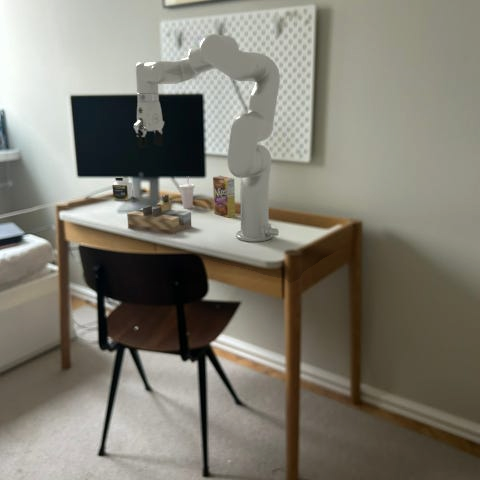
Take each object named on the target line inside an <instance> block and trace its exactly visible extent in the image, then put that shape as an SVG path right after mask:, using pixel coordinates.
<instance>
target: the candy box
mask: <svg viewBox="0 0 480 480" xmlns="http://www.w3.org/2000/svg"><path fill="white" fill-rule="evenodd" d="M212 185H213V186H212V187H213V189H212V190H213V214H216V215H219V216H223V217H226V218H231V217H235V216H236V201H235V196H236V195H235V193H236V192H235V188H236V187H235V178H232V177H227V176H222V175H216V176H213V177H212Z"/></svg>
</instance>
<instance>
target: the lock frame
mask: <svg viewBox="0 0 480 480" xmlns="http://www.w3.org/2000/svg"><path fill="white" fill-rule="evenodd" d="M126 215H127V216H126V218H127V228H128V229H134V230H140V231H147V232H151V233H152V232H154V233H160V234H166V235H172V234H174V235H175V234H177V233H180V232H182V231H184V230H187V229H189V228H190V227H192V211H188V210H187V211H186V210H178V209H172V208H171V209H170V210H167V211H164V212H162V209H161V207H160V206H159V207H156V206H154V207H153V205H150V204H149V205H147V206H143V207H142V208H139V209H138V211H136V210H133V211H130V212H128V213H127V212H126ZM186 228H187V229H186Z"/></svg>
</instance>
